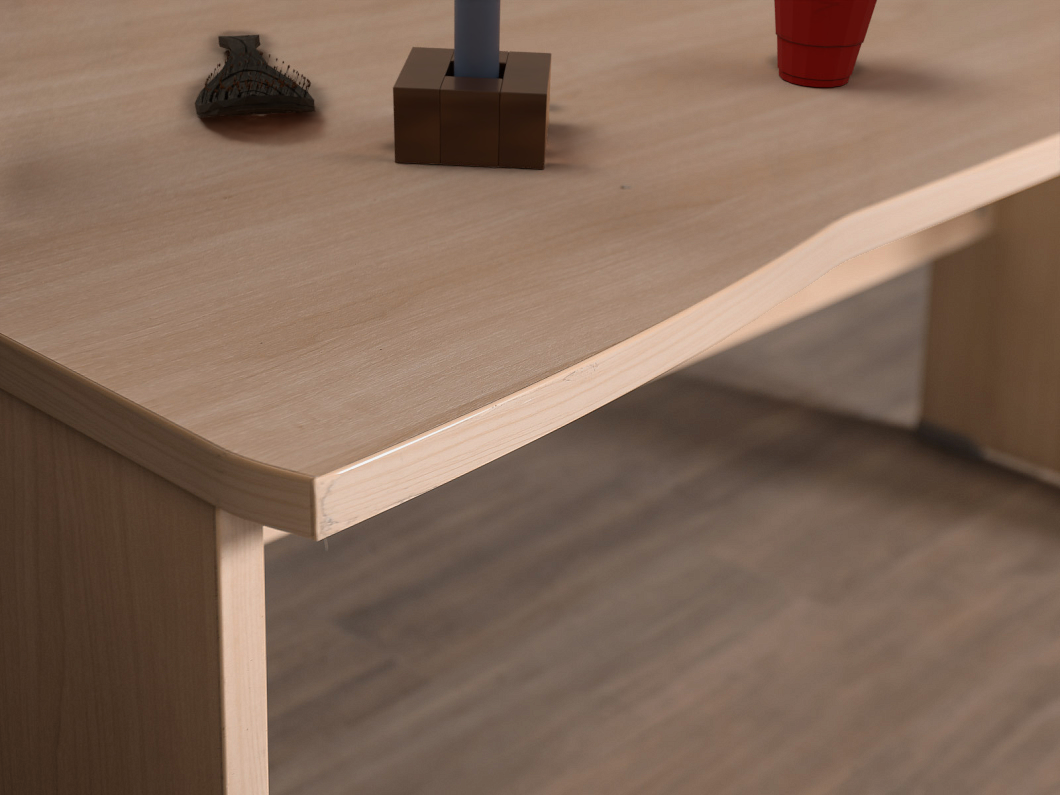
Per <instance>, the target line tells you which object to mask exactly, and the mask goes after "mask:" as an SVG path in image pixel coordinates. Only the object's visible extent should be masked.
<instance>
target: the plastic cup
mask: <svg viewBox="0 0 1060 795" xmlns="http://www.w3.org/2000/svg"><path fill="white" fill-rule="evenodd" d="M773 2H774V26H775V27H774V29H775V35H776V54H777V55H776V57H777V58H776V60H777V62H776V63H777V69H778V76H779V78H781V79H782V80H783V81H786V82H788V83H791V84H795V85H800V86H804V87H813V88H835V87H840V86H844V85H846V84H848V83H849V80H850V78H851V76H852V75H853V73H854V69H855V66H856V63H857V60H858V56H859V53H860V50H861V47H862V44H864V42H865V40H866V36H867V33H868V31H869V30H868V29H869V26H870V23H871V20H872V17H873V14H874V11H875V8H876V4H877V2H878V0H773Z"/></svg>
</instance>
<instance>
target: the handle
mask: <svg viewBox="0 0 1060 795" xmlns="http://www.w3.org/2000/svg"><path fill="white" fill-rule="evenodd" d="M453 2H454V3H453V5H454V6H453V16H454V17H453V22H454V23H453V24H454V25H453V49H454V77H474V78H496V79H499V51H500V50H501V48H500V47H501V46H500V44H501V43H500V42H501V41H500V40H501V34H500V33H501V0H453Z"/></svg>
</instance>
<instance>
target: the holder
mask: <svg viewBox="0 0 1060 795" xmlns="http://www.w3.org/2000/svg"><path fill="white" fill-rule="evenodd" d="M551 75H552V53H551V52H536V51H535V52H533V51H532V52H531V51H512V50H510V51H508V50H499V79H496V78H474V77H454V48H446V47H444V48H443V47H426V46H425V47H422V46H412V47H411V50H410V51H409V53H408V56H407V58H406V59H405V61H404V64H403V66H402V67H401V70H400V72H399V75H397V78H396V80H395V83H394V85H393V86H392V102H393V105H392V106H393V144H394V145H393V146H394V149H393V150H394V163H398V164H399V163H400V164H401V163H403V164H404V163H405V164H420V165H421V164H422V165H424V164H425V165H443V166H444V165H445V166H465V167H466V166H467V167H485V168H486V167H487V168H488V167H489V168H510V169H532V170H544V169H545V164H546V154H547V153H546V152H547V145H548V144H547V143H548V133H549V122H550V102H551V98H550V97H551V79H552V78H551V77H552V76H551Z"/></svg>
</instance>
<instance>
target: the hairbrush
mask: <svg viewBox="0 0 1060 795" xmlns="http://www.w3.org/2000/svg"><path fill="white" fill-rule="evenodd" d="M260 38H261V37H260V34H244V35H219V36H218V38H217V39H218V45H219V47H220V48H223V49H225V50H228V52H229V55H228V56H227V59H225V60H224V65H223V67H222V68H221V70H220V67H221V63H217V65H216V67H215V68H214V69H213V70H214V71H213V72H210V74H208V76H207V78H206V79H205V83H204V87H203V88H202V89H201V90H200V91H199V94H198V95H197V97H196V99H195V101H194V106H195V114H196V115H197V117H199V118H200V119H201V118H203V119H204V118H215V117H232V116H249V115H250V116H251V115H269V114H270V115H271V114H283V113H284V114H286V113H309V112H310V113H311V112H312V113H313V112H316V106H315V99H314V97H313V96H312V95H311V94H310V93H309V90H310V87H311V84H312V82H311V80H309V78H307V77H306V76H304V74H301V75H300V73H299V71H298V70H295V68H293V70H292V74H296V75H295V76H294V75H292V76H290V74H289V70H290V67H291V65H290V64H288V65H287V68H286V72H284V74H283V73H282V72H283V70H282V69H283V65H284V64H285V61H284V60H283V61H282V67H281V68H280V70H278V66H276V65H273V66H271V65H269V62H268V61H266V60H265V59H264V57H263V55H264V53H263V52H262V51H261V52H260V51H258V50H257V48H259V47H260V46H261V44H262V43H261V40H260ZM268 59H271V54H270V53H269V54H268ZM278 60H279V58H277V57H276V58H275V61H276V62H278ZM276 62H275V63H276ZM219 70H220V71H219ZM295 71H296V72H295ZM299 76H300V77H301V80H302V79H303V83H301V81H299V82H298V83H297V80H298V78H299ZM293 77H295V78H294V79H293ZM300 85H301V86H300ZM304 86H305V87H304Z"/></svg>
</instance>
